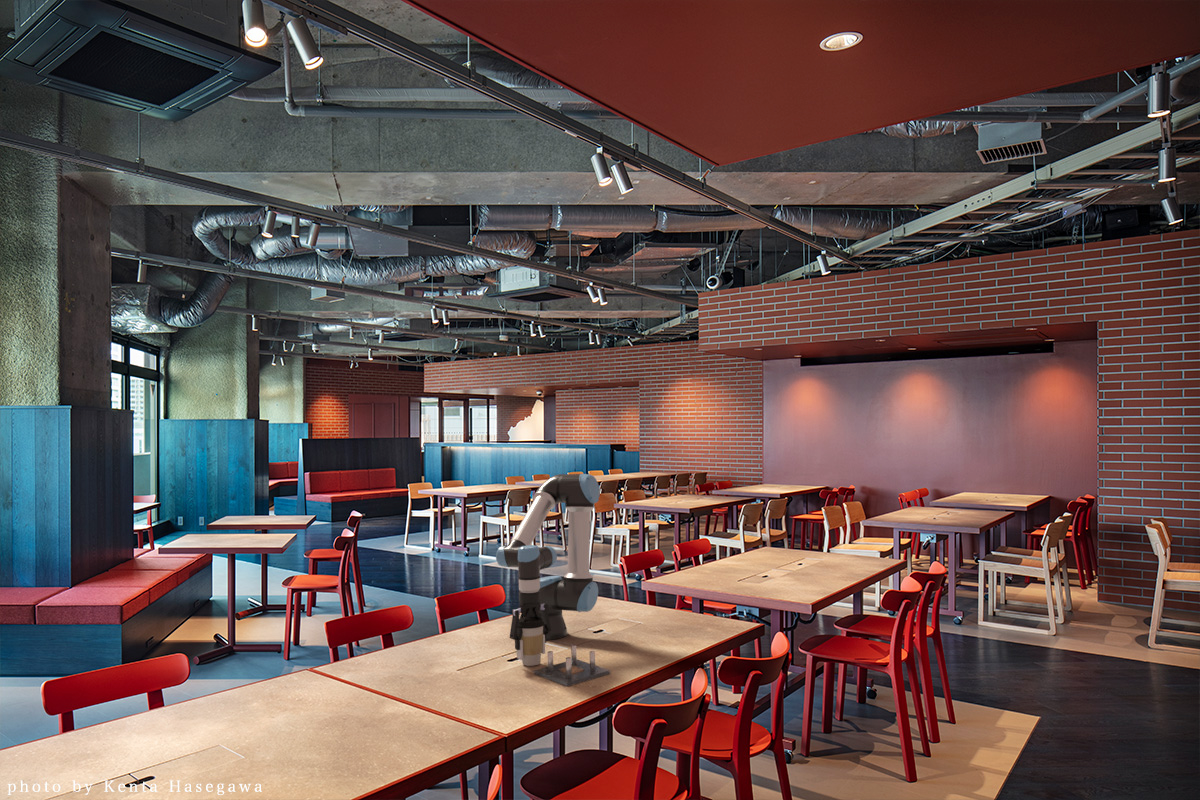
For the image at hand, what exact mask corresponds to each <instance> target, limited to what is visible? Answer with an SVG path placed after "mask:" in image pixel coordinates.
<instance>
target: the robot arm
mask: <svg viewBox="0 0 1200 800" xmlns="http://www.w3.org/2000/svg"><path fill="white" fill-rule="evenodd" d="M600 493H601V492H600V486H599V482H598V480H597V479H596V477H595V476H594V475H592V474H589V473H588V474H587V473H575V474H574V473H571V474H569V473H568V474H563V473H560V474H556V475H553V476H551V477H549V478H548V479H547V480H545V481H544V482H543V483H542V484H541V485H540V486H538V488H537V490H536V491H535V493H534V495H533V501H532V503H531V504H530V506H529V508H528V510H527V511H526V514H525V515H524V517H523V518H522V520H521V522H520V524H519V525H518V528H517V529H516V531H515V532H514V534H513V536H512V537H511V540H510V541H509V542H508V544H507V545H501V546H499V547H498V548H497V550H496V554H495V560H496V562H497V565H499V566H500V567H505V568H517V570H518V571H517V572H518V590H519V592H518V602H519V607H518V608H516V609H512V610H511V615H512V618H511V623H510V631H509V639H511V640H514V649H515V650H516V659H518V660H520V661H522V660H523V640H521V637H522V634H523V631H522V628H518V623H519V619H520V621H522V622H527V621H528V619H529V618H531V617H533V618H535V619H538V620H539V618H542V619H543V621H544V626H543V640H542V652H541V655H544V654H546V643H547V641H549V640H550V641H551V640H558V639H561V638H564V637H566V636H568V628H567V625H566V623H565V619H564V617H563V611H569V612H570V611H571V612H578V613H583V612H584V613H586V612H590V611H592V610H593V609H594V607H595V605H597V604H596V603H597V602H598V601H597V600H598V596H599V587H598V584H597V582H596V581H594V580H593V579H594V576H593V575H592V574H591V573H590V539H591V535H590V533H591V532H590V531H591V512H592V510H593V509H595V504H597V503H598V502H599V500H600V499H599V498H600ZM560 503H561V504H565V506H564V507H565V509H566V510H567V511H568V540H567V543H568V544H567V572H566V573H565V574H564V576H563V578H562V576H561V575H550V576H549V575H548V576H542V577H540V576H541V575H540V574H541V572H540V571H541V570H545V569H548V568H550V567H552V566H553V565H555V564H556V562H557V559H558V555H557V551H556V550H555V548H553V547H552V546H550V545H549V546H548V545H546V546H545V545H544V546H542V547H539V546H538V545H532V543H533V541H534V540H535V538H536V536H537V534H538V533H539V530H540V528H541V527H542V526H543V524H544V521H545V520H546V518H547V516H548V514H549V513H550V511H552V510H553V509H554V508H555V507H556V506H557V504H560ZM524 617H525V618H524Z"/></svg>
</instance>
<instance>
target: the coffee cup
mask: <svg viewBox="0 0 1200 800" xmlns="http://www.w3.org/2000/svg"><path fill="white" fill-rule="evenodd" d="M524 618H525V617H524ZM543 626H544V621H543V619H542V618H539V620H538V619H535V618H533V617H531V618H529V619H528V621H527V622H522V621H520V618H519V623H518V628H522V631H523V634H522V637H521V640H523V660H521V661H522V665H523V666H527V667H529V666H531V667H532V666H533V667H534V666H537V665H540V664H541V661H542V659H541V656H542V653H541V652H542V640H543Z"/></svg>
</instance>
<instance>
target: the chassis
mask: <svg viewBox="0 0 1200 800" xmlns="http://www.w3.org/2000/svg"><path fill="white" fill-rule="evenodd" d="M570 650H571V652H570V654H571V657H570V656H569V657H565V661H562V662H560V663H556V664H554V652H553V651H551V650H550V651H547V666H545V667H542V668H537V669H534V670H533V675H536V676H538V677H541V678H543V679H546V680H548V681H552V682H554V683H557V684H559V685H562V686H563V687H564V686H565V687H570V686H573V684H574V685H577V684H580V682H581V683H584V682H587V681H590V680H593V679H598V678H600V677H603V676H608V675H610V673H611V672H610V671H611V670H609V669H608V668H604V667H601V666H598V665H596V651H594V650H591V651H589V662H586V661H583V660H580V659H578V658H577V657H578V656H577V645H570ZM583 681H584V682H583Z"/></svg>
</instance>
